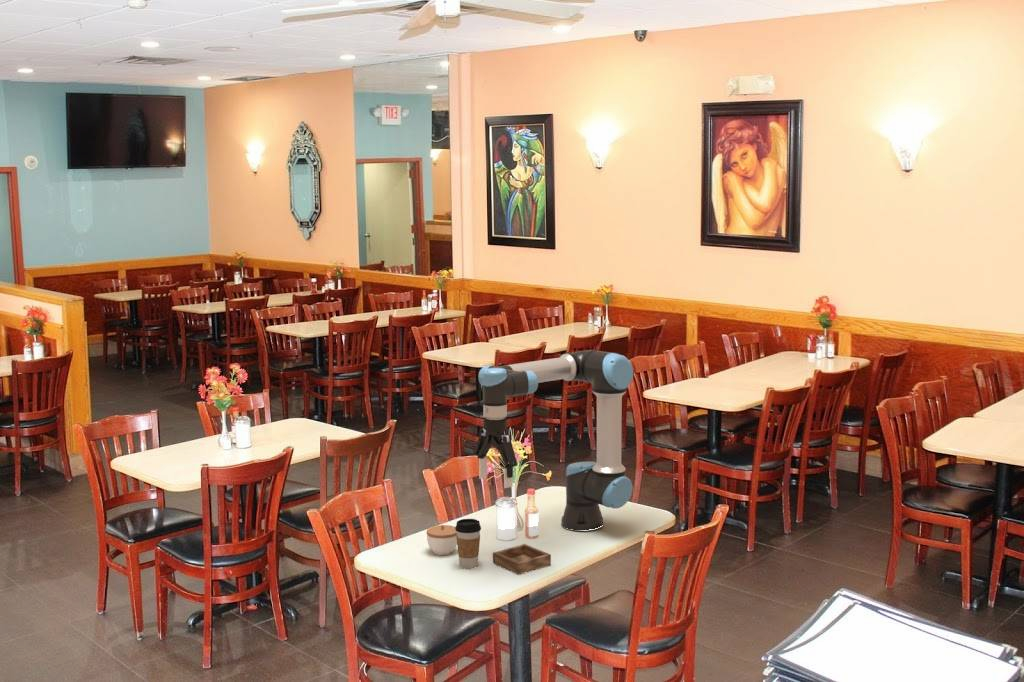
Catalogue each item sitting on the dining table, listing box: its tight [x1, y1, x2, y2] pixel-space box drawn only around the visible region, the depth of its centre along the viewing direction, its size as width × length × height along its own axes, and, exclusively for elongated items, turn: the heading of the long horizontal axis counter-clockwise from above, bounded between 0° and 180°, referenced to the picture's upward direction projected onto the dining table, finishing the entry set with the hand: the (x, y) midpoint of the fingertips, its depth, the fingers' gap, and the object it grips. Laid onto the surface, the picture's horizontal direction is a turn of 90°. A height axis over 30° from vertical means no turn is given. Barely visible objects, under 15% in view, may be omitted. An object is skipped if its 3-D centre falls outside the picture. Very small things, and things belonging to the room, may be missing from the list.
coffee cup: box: [454, 518, 482, 570], centre depth 339 cm, size 8×8×15 cm
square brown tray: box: [492, 543, 552, 576], centre depth 341 cm, size 13×13×4 cm
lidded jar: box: [426, 524, 458, 556], centre depth 353 cm, size 11×11×9 cm
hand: (495, 482), depth 335 cm, fingers open, 13 cm apart
